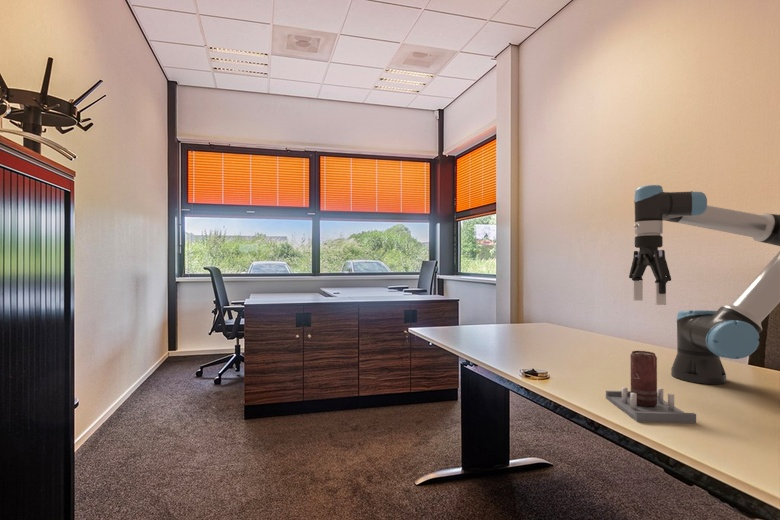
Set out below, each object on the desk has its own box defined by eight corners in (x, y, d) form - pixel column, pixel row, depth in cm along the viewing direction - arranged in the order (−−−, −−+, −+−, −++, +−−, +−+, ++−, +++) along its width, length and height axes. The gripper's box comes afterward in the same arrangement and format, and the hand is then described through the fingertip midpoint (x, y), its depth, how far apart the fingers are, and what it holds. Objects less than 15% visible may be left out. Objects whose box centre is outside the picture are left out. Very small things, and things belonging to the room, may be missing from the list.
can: (650, 409, 111) (649, 356, 111) (626, 402, 116) (625, 351, 116) (662, 405, 114) (662, 353, 114) (638, 398, 119) (638, 349, 119)
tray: (656, 399, 122) (656, 382, 122) (696, 423, 104) (696, 402, 104) (605, 398, 123) (605, 380, 123) (636, 421, 105) (636, 401, 105)
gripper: (618, 237, 146) (618, 298, 146) (657, 232, 121) (657, 306, 121) (640, 237, 146) (640, 298, 146) (685, 232, 121) (685, 306, 121)
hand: (648, 302), depth 133 cm, fingers open, 13 cm apart
